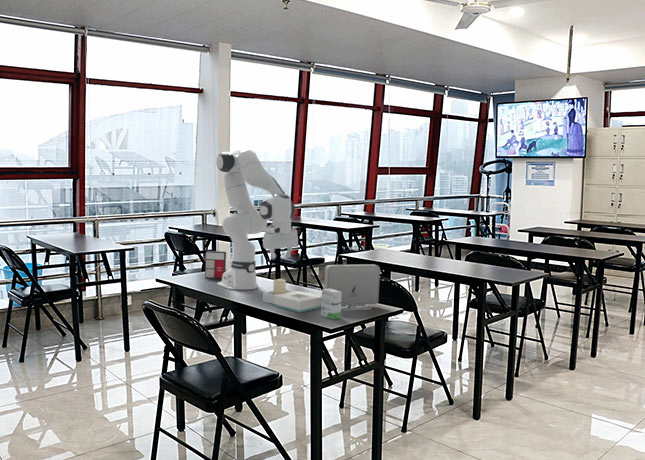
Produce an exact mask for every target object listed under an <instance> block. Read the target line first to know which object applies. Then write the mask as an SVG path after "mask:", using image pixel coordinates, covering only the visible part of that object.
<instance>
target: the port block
mask: <svg viewBox="0 0 645 460" xmlns="http://www.w3.org/2000/svg"><path fill="white" fill-rule="evenodd" d="M321 301H322V295H318V294H314V293H309V292H305V291H301V290H297V291H294V292H291V293H285V294H279V295H275V297H274V304H273V305H274V306H273V307H276V308H280V309H283V310H286V311H287V310H289V311H292V312H296V313H304V312H308V310H309V311H312V309H314V310H318V309H321Z"/></svg>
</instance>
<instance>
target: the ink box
mask: <svg viewBox="0 0 645 460" xmlns="http://www.w3.org/2000/svg"><path fill="white" fill-rule="evenodd" d="M321 296H322V301H321V308H320V316H321V317H324V318H327V319H329V320H337V319H341V318H342V311H341V309H342V306H341V296H342V292H340V291H337V290H334V289H324V288H322V289H321Z"/></svg>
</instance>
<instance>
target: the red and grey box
mask: <svg viewBox="0 0 645 460" xmlns="http://www.w3.org/2000/svg"><path fill="white" fill-rule="evenodd" d="M204 259H205V261H204V262H205V264H204V266H205V268H204V270H205V271H204V278H205V279H221V280H222V276H223V273H225V272H226V271H227V270H226V268H227V267H226V264H227V263H226V261H227V251H221V250H219V251H217V250H207V251H205V258H204Z"/></svg>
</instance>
